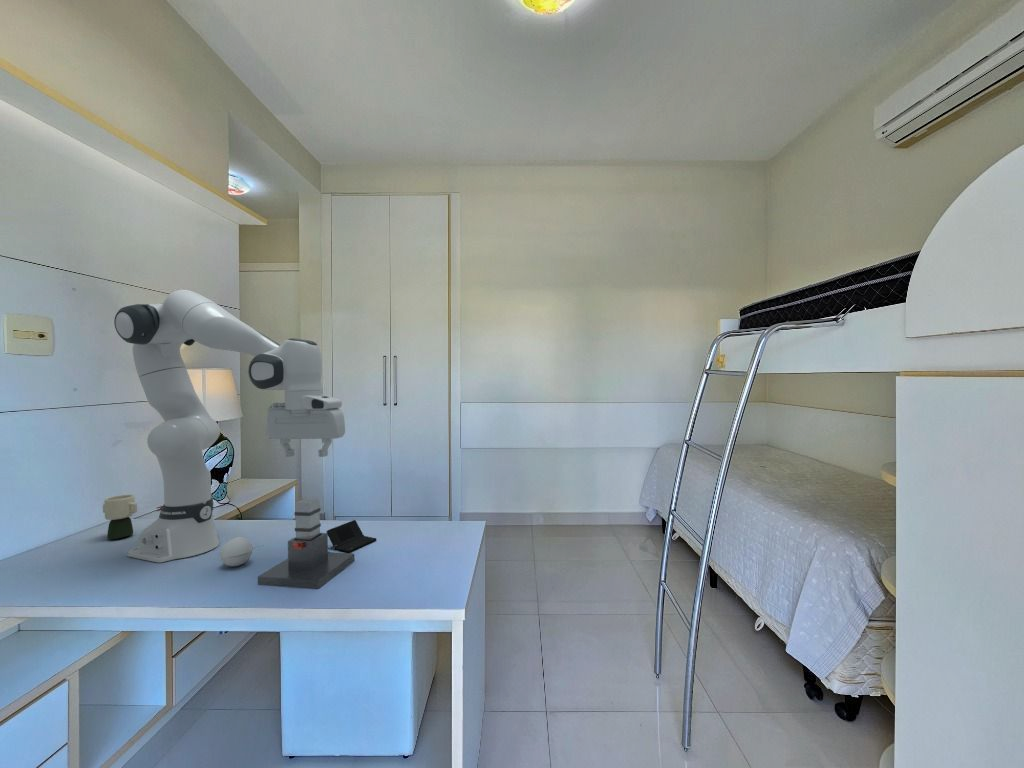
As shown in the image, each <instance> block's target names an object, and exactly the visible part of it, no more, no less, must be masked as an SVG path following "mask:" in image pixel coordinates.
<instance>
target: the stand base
mask: <svg viewBox="0 0 1024 768" xmlns="http://www.w3.org/2000/svg"><path fill="white" fill-rule="evenodd" d="M328 540H329V537H328V533H326V532H320V536H319V537H317V538H315V539H314V540H312V541H300V540H296V536H295V537H293V538H291V539H290V540H288V541H287V558H286V559H284V560H283V561H281V562H279V563H278V564H276V565H274V566H273V567H271V568H269V569H267V570H266V571H264V572H262V573H261V574H260V575H258V576H257V585H258V586H269V587H283V588H285V587H286V588H299V589H311V590H312V589H313V590H319V589H321V588H322V587H323V586H324V585H325V584H327V583H328V582H329V581H330V580H332V579H334V578H335V577H336V576H337V575H338V574H340V573H341V572H342V571H344V570H345V569H346V568H348V566H350V565H351V564H353V563H354V562H355V553H354V552H352V553H344V552H334V551H333V552H330V551H329V544H328V543H329V541H328Z"/></svg>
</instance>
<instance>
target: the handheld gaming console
mask: <svg viewBox="0 0 1024 768" xmlns="http://www.w3.org/2000/svg"><path fill="white" fill-rule="evenodd" d="M325 533H328V540H329V541H330V543H331V545H332V546H333V552H334V551H336V552H338V553H354V552H356V551H358V550H360V549H363V548H364V547H366V546H368V545H371V544H373V543H375V542H377V538H376V537H371V536H366V535H365V534H364V533H363V532H362V530H361V528H360V526H359V524H358V522H357V521H356V519H353V520H350V521H348V522H346V523H343V524H340V525H337V526H335V527H333V528H330V529H328V530H326V532H325Z"/></svg>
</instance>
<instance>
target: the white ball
mask: <svg viewBox="0 0 1024 768" xmlns="http://www.w3.org/2000/svg"><path fill="white" fill-rule="evenodd" d="M264 546H265V545H264V544H263V545H262V547H264ZM258 547H259V548H261V545H259V546H258ZM255 548H257V546H256V547H253V544H252V542H251V541H250V540H249V539H248V538H245V537H241V536H237V537H233V538H231V539H229V540H228V541H226V542H225V543H224V544H223V545H222V547H221V549H220V552H219V557H220V560H221V562H222V563H223V564H224V565H226V566H228V567H235V568H236V567H240V566H241V565H243V564H245V563H246V562H247V561H248V560H249V559H250V557H251V555H252V554H253V551H254V550H253V549H255Z"/></svg>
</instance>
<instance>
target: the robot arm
mask: <svg viewBox="0 0 1024 768" xmlns="http://www.w3.org/2000/svg"><path fill="white" fill-rule="evenodd" d="M113 324H114V329H115V331H116V333H117V334H118V336H119V338H121V339H122V340H123V341H124V342H125V343H129V344H132V355H133V363H134V366H135V370H136V374H137V376H138V379H139V382H140V384H141V387H142V389H143V393H144V395H145V397H146V400H147V402H148V404H149V405H150V407H152V408H153V409H154V410H156V412H157V413H159V415H160V416H161V417H162V419H163V422H160V423H159V424H158V425H157V426H155V427H154V428H152V429H151V430H150V432H149V433H148V436H147V439H146V440H147V442H146V443H147V446H148V448H149V451H151V452H152V454H153V455H155V457H156V458H157V461H158V465H159V467H160V470H161V471H160V472H161V473H162V479H163V501H164V503H163V505H160V506H157V507H156V512H159V516H158V518H157V519H155V520H154V521H153V522H151V524H150V525H148V526H147V527H146V528H145V529H143V530H142V531H141V532H140V534H139V537H138V546H136V547H134V548H132V549H131V550H129V551H128V552H127V557H129V558H133V559H138V560H143V561H149V562H153V563H165V562H168V561H172V560H177V559H183V558H184V559H185V558H189V557H193V556H196V555H197V556H198V555H201V554H204V553H206V552H209V551H212V550H214V549H215V548H217V547H218V546H219V544H220V542H219V535H217V530H216V524H215V523H216V522H215V520H214V519H215V517H214V514H213V511H214V503H215V502H214V498H213V497H212V478H211V477H212V475H211V471H210V469H208V467H207V465H206V462H205V461H206V460H205V458H204V455H203V451H204V450H207V449H208V448H210V447H211V446H212V445H214V443H216V441H217V440H218V438H219V437H220V433H221V429H220V426H219V424H218V422H217V421H216V420H215V419H213V418H212V416H211V415H210V413H209V412H208V410H207V409H206V407H205V406H204V404H203V403H202V400H201V399H200V398H199V396H198V394H197V392H196V391H195V388H194V385H193V382H192V380H191V377H190V375H189V372H188V369H187V367H186V365H185V362H184V360H183V358H182V355H181V347H182V345H183V344H184V345H185V346H189V347H190V346H192V345H194V344H195V342H197V343H198V344H200V345H203V346H205V347H208V348H211V349H215V350H223V351H231V352H237V353H243V354H247V355H250V356H253V358H252V359H251V361H250V362H249V365H248V371H247V372H248V378H249V380H250V382H251V384H252V385H253V386H254V387H255V388H257V389H260V390H264V391H284V402H273V403H272V404H270V406H269V407H268V409H267V419H266V431H265V434H266V437H267V438H268V439H269V440H279V444H280V446H281V448H282V449H283V450H284V457H286V458H291V457H295V448H292V447H291V444H290V442H291V440H304V439H305V440H310V439H311V440H316V439H317V440H319V439H320V440H321V444H322V447H321V448H320V449H318V450H317V451H318V457H320V458H323V457H328V455H329V454H328V453H329V452H328V450H329V448H330V446H331V444H332V440H334V439H340V438H343V437H344V435H345V433H346V423H345V415H344V412H343V410H342V409H340V408H341V407H342V404H343V403H342V400H341V399H339V398H336V397H333V396H330V395H327V394H324V389H323V386H322V375H323V364H322V363H323V362H322V353H321V349H320V347H319V344H318V343H317V342H315V341H313V340H307V339H300V338H295V337H294V338H293V337H292V338H287V339H285V340H284V341H283V342H282V344H279V343H278V342H276V341H274V340H273V339H271V338H269V336H266V335H265V334H263V333H261V332H259V331H257V330H255V329H254V328H253V327H252V326H250V325H248V324H246V323H245V322H244V321H242V320H240V319H239V318H237V317H236V316H235V315H233V314H231V312H229V311H227V310H226V309H224V308H223V307H221V306H220V305H219V304H217V303H216V302H214V301H213V300H211V299H210V298H208V297H206V296H204V295H202V294H200V293H198V292H195V291H193V290H189V289H178V290H175V291H172V292H171V293H170V294H168V295H167V297H165V299H164V302H161V303H160V302H159V303H149V304H148V303H147V304H144V303H142V304H141V303H140V304H139V303H136V304H132V305H126V306H124V307H121V308H120V309H118V311H117V312H116V313H115V316H114V323H113Z"/></svg>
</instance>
